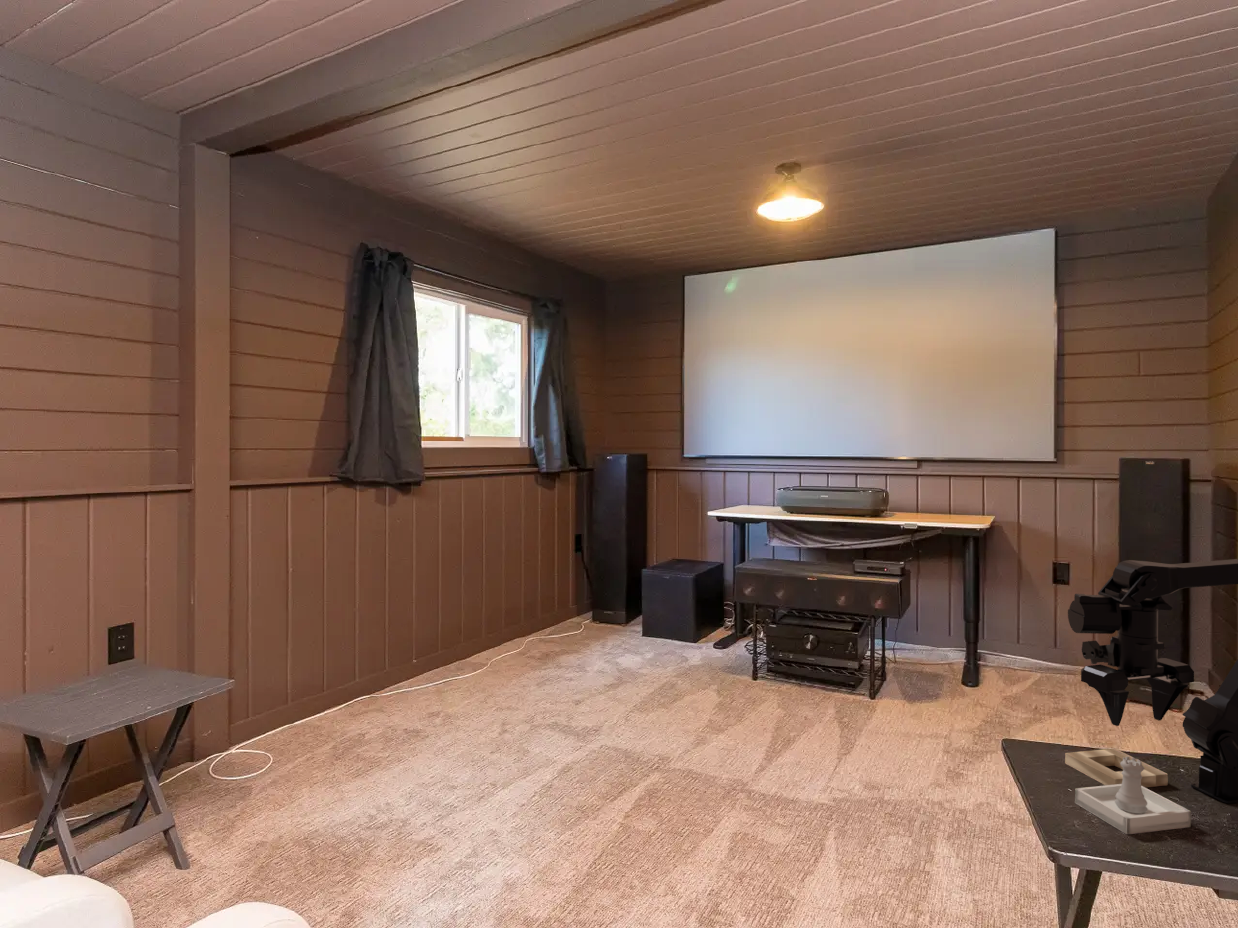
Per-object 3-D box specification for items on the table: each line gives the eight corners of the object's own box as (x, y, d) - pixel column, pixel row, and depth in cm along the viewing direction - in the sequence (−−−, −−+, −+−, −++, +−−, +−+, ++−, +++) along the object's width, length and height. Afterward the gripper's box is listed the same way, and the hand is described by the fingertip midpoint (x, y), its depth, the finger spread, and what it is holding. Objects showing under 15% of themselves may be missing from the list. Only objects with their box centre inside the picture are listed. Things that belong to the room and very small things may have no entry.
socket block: (1114, 758, 141) (1114, 748, 141) (1167, 784, 131) (1167, 773, 131) (1065, 763, 139) (1065, 752, 139) (1114, 790, 128) (1115, 779, 128)
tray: (1134, 796, 126) (1135, 782, 126) (1190, 826, 117) (1191, 811, 116) (1074, 802, 124) (1075, 788, 124) (1126, 834, 114) (1127, 818, 114)
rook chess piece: (1153, 816, 118) (1154, 767, 117) (1121, 813, 119) (1123, 764, 118) (1139, 802, 122) (1140, 755, 122) (1109, 800, 123) (1110, 753, 123)
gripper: (1137, 619, 138) (1136, 701, 139) (1055, 626, 134) (1054, 711, 134) (1197, 634, 128) (1195, 723, 128) (1109, 642, 123) (1109, 734, 124)
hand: (1136, 722), depth 129 cm, fingers open, 9 cm apart
